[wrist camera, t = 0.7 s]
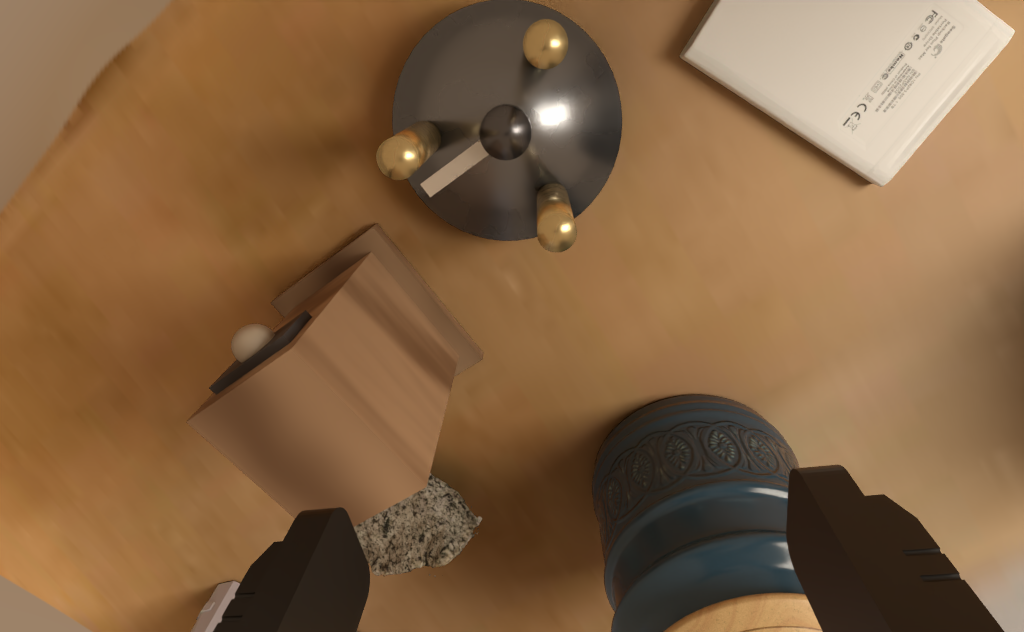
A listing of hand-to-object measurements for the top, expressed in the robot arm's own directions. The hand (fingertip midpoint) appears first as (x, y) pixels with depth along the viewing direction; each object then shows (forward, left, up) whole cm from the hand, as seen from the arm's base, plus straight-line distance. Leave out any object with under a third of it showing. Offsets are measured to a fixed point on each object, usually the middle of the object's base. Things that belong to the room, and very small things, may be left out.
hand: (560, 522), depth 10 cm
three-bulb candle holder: (-1, -5, -22) cm, 23 cm away
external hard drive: (-16, +1, -23) cm, 28 cm away
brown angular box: (+12, 0, -22) cm, 25 cm away
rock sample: (+20, +11, -23) cm, 32 cm away
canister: (+2, +20, -23) cm, 30 cm away
